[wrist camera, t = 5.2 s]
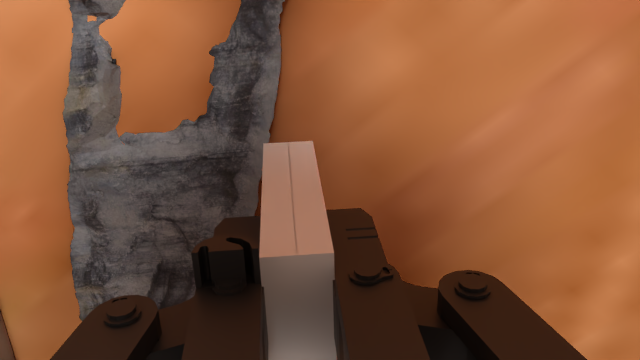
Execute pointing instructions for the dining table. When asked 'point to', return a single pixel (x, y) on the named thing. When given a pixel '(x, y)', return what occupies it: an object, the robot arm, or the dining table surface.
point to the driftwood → (162, 161)
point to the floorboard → (5, 343)
